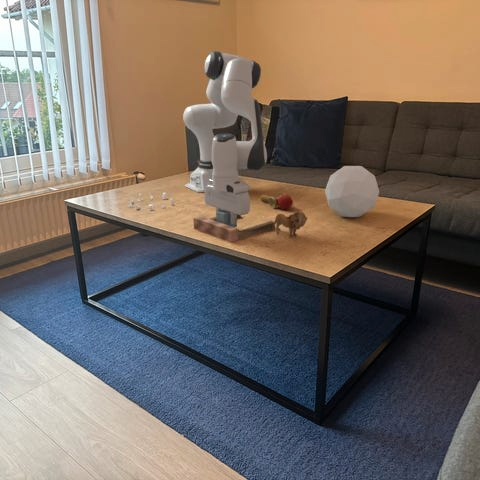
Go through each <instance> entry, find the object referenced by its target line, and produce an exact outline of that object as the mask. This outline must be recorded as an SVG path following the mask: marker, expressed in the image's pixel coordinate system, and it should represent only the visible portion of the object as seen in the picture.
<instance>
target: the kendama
mask: <svg viewBox="0 0 480 480" xmlns="http://www.w3.org/2000/svg"><path fill="white" fill-rule="evenodd" d="M260 200H261V201H262V202H264V203H268V204H269V206H270V207H271V209H277V208H278V207H279V208H280V209H281V210H282V211H283V210H285V211H287V210H290V209H291V208H292V207H293V198H292V197H291V196H290V195H289V194H286V193H281V194H280V195H279V196H278V197H274V196H269V195H267V194H262V195H261V196H260Z"/></svg>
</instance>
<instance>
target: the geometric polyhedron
mask: <svg viewBox="0 0 480 480" xmlns="http://www.w3.org/2000/svg"><path fill="white" fill-rule="evenodd" d="M324 193H325V198H326V201H327V204H328V208H329V209H331V210H333V211H334V212H335V213H337V214H338V215H339V216H341V217H342V218H361V216H363V215H364V214H367V213H368V212H369V211H371V210H372V209H374V207H375V205H376V203H377V200H378V197H379V194H380V190H379V186H378V182H377V179H376V176H375V175H374V174H373V173H372V172H370V171H369V170H368V169H366V168H365V167H364V166H362V165H344V166H342V167H341V168H340V169H338V170H337V171H335V172H333V173H332V174H330V176H329V179H328V181H327V184H326V187H325V190H324Z"/></svg>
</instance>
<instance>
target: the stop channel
mask: <svg viewBox="0 0 480 480" xmlns="http://www.w3.org/2000/svg"><path fill="white" fill-rule="evenodd" d="M241 216H242V215H238V214H237V219H238V218H241ZM274 222H275V221H272V220H269V221H266V222H263V223H260V224H257V225H254V226H249V227H247V228H244V229H241V230H239V231H238V227H232V226H229V225H226V224H223V223H220V222H217V221H216V216H214V217H210V218H207V217H206V216H201V215H198V216H194V217H193V229H194V230H197V231H200V232H203V233H206V234H208V235H211V236H214V237H216V238H219V239H222V240H225V241H227V242H229V243H232V242H236V241H239V240H242V239H244V238H247V237H250V236H253V235H254V236H255V235H256V234H260V233H262V232H263V233H264V232H266V231H268V230H270V229H269V228H270V227H272V226H273V225H274ZM274 228H275V229H276V225H275V226H274V227H273V228H272V229H274Z"/></svg>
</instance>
